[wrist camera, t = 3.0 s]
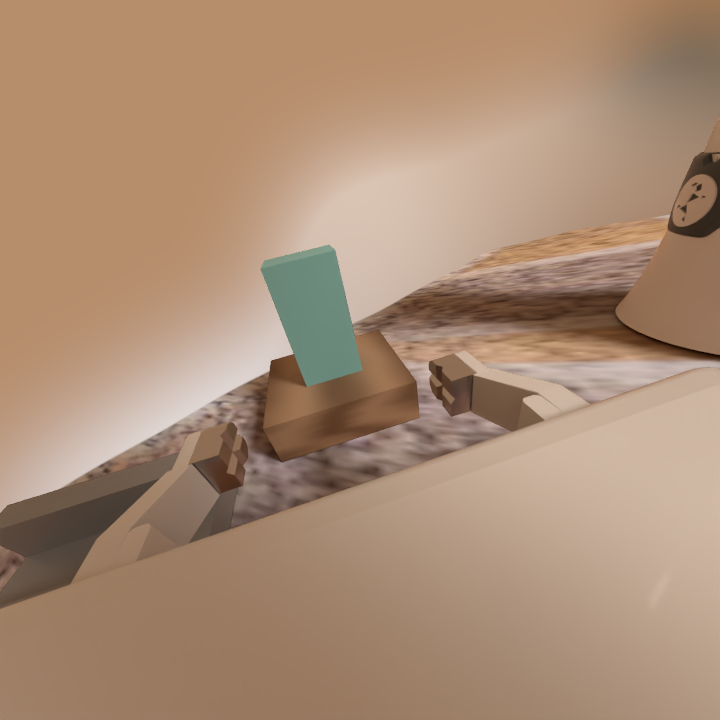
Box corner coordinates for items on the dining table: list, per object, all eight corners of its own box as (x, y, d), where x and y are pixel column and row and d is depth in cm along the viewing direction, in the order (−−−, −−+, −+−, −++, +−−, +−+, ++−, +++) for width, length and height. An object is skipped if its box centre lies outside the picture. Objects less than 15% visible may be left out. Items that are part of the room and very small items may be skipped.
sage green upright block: (355, 354, 25) (329, 244, 20) (362, 370, 22) (335, 249, 17) (305, 368, 24) (264, 260, 19) (306, 386, 22) (260, 268, 17)
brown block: (383, 359, 30) (378, 330, 28) (419, 417, 22) (416, 381, 20) (284, 389, 29) (271, 360, 27) (282, 462, 21) (262, 429, 19)
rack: (237, 486, 20) (204, 444, 17) (210, 629, 13) (148, 597, 10) (71, 540, 19) (7, 505, 16) (-52, 729, 12) (-199, 722, 9)
